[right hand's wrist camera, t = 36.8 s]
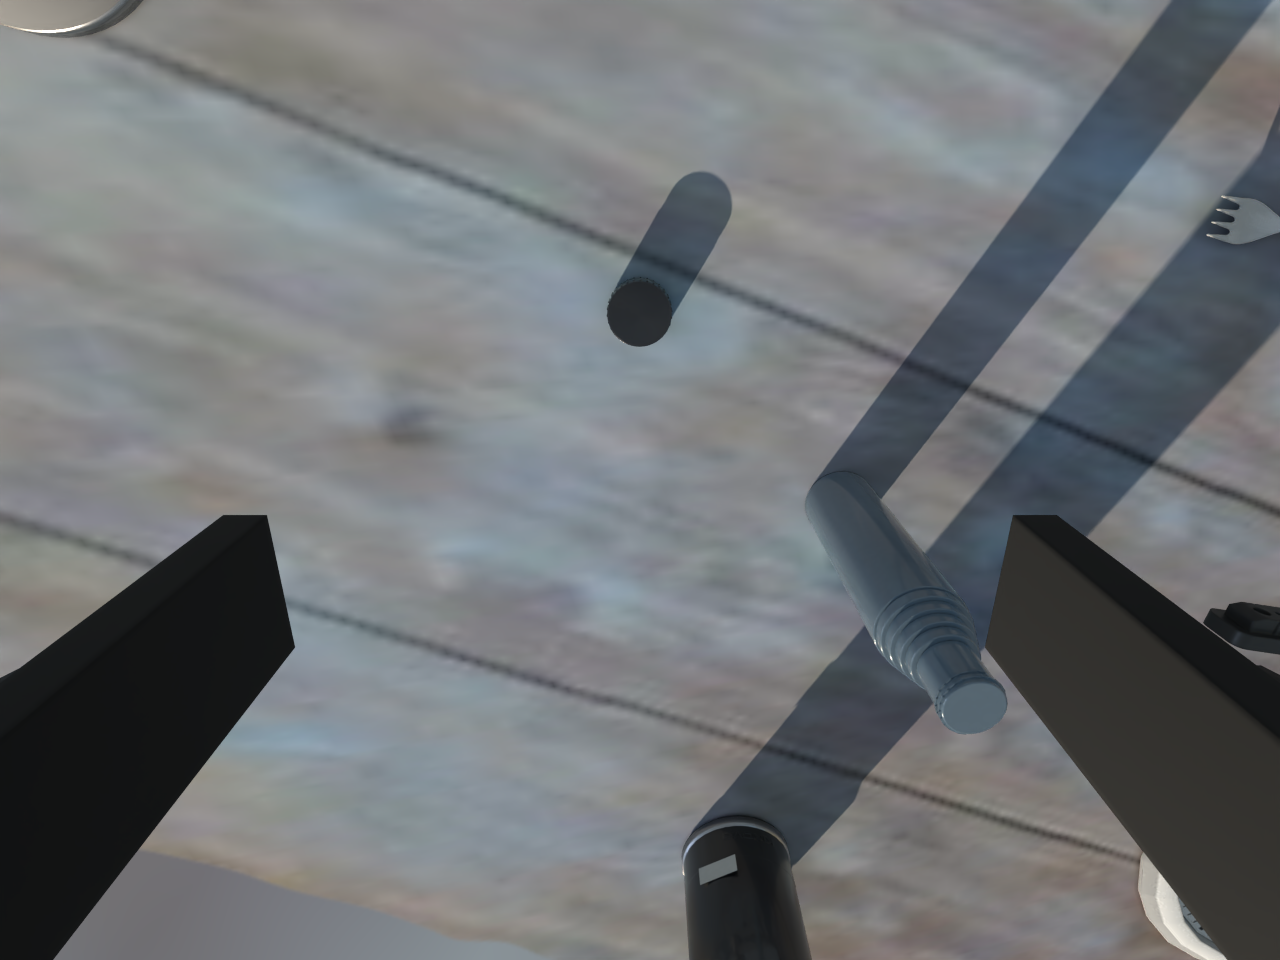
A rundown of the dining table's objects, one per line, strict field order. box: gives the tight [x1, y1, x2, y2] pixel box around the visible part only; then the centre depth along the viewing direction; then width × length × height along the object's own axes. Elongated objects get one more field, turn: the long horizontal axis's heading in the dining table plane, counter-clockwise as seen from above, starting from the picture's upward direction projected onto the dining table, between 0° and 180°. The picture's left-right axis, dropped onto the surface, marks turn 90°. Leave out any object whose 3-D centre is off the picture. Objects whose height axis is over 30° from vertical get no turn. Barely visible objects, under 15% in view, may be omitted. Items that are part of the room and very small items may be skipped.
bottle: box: [805, 472, 1007, 734], centre depth 40 cm, size 5×5×22 cm
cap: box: [607, 277, 672, 347], centre depth 44 cm, size 4×4×2 cm
